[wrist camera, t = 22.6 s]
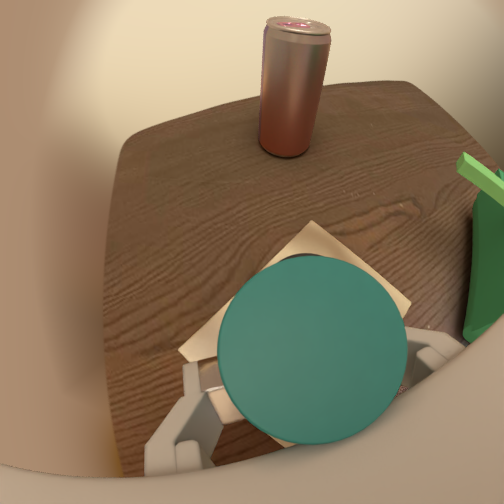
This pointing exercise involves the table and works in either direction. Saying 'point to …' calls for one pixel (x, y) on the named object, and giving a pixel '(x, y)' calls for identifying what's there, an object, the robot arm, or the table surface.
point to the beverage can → (291, 82)
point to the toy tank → (485, 248)
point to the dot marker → (312, 350)
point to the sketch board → (303, 244)
